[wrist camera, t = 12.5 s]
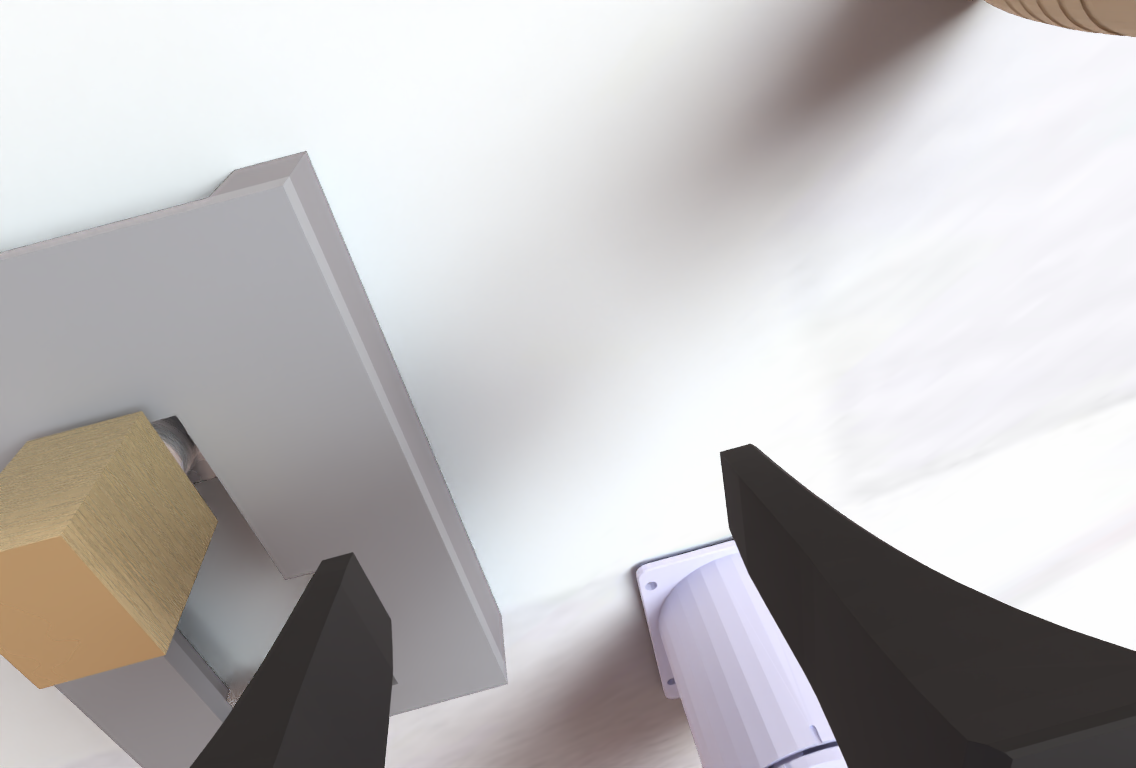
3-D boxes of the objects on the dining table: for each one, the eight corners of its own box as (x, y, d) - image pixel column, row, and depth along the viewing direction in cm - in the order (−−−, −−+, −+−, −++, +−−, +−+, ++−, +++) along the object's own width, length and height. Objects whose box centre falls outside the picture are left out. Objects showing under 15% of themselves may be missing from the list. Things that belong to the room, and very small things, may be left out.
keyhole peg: (285, 442, 23) (217, 656, 16) (142, 480, 23) (10, 712, 16) (213, 314, 21) (94, 504, 14) (51, 357, 21) (-155, 572, 14)
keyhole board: (501, 615, 30) (507, 683, 27) (183, 702, 29) (156, 780, 27) (306, 151, 19) (282, 185, 16) (-202, 285, 18) (-315, 343, 16)
